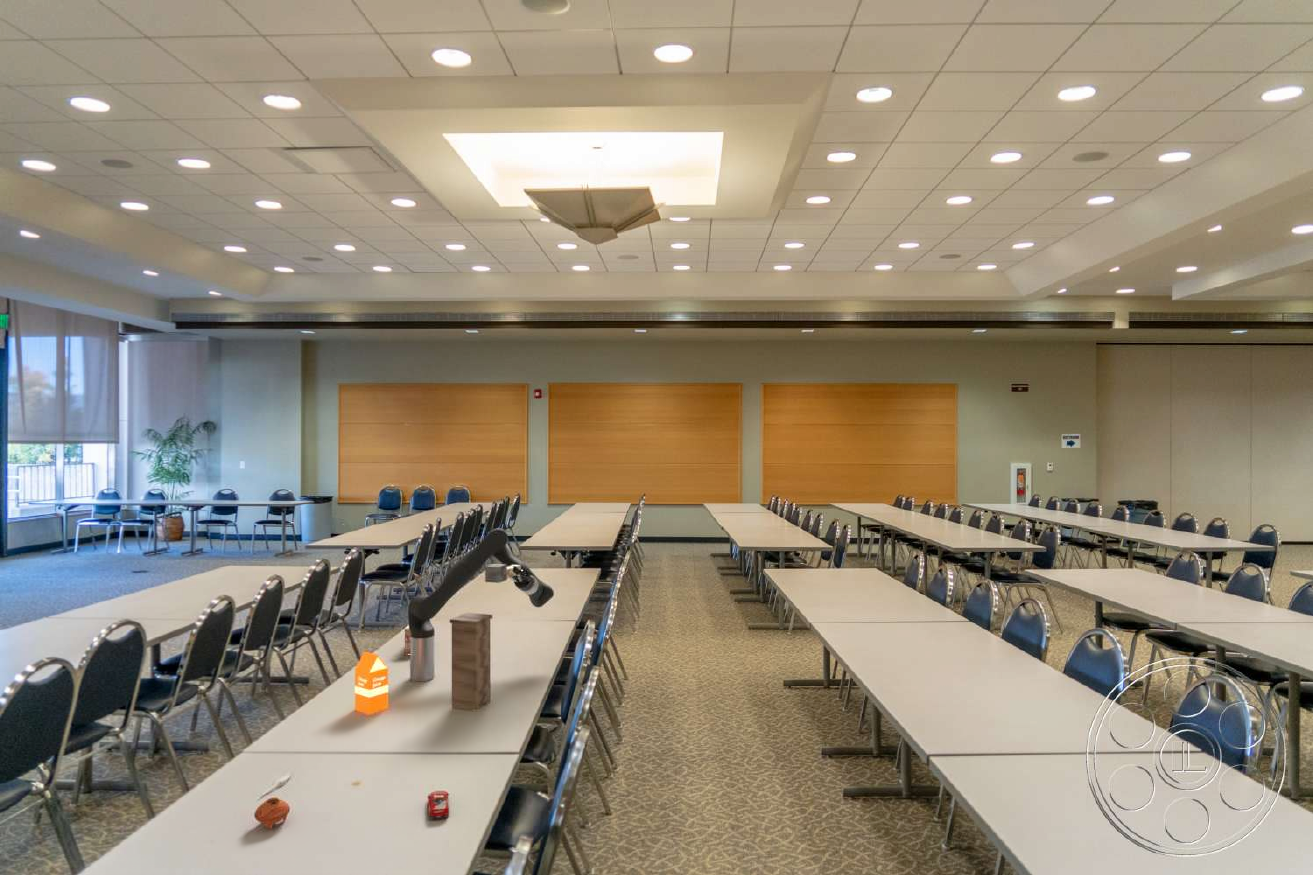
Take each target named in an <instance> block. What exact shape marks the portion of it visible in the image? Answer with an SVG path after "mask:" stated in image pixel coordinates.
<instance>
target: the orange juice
mask: <svg viewBox="0 0 1313 875" xmlns="http://www.w3.org/2000/svg"><path fill="white" fill-rule="evenodd" d="M387 708H388V709H389V667H387V665H386V664H385V663H384V661H383V660H382V658H381V657H380V655H379V654H375V653H372V652H367V651H363V653H362V655H361V657H360V659H359V661H358V663H357V664H356V666H355V669H354V710H355V711H358V712H361V713H365V714H367V715H373V714H375V712H376V713H378V711H379V712H382V711H385V710H387ZM381 710H382V711H381Z"/></svg>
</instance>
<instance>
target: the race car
mask: <svg viewBox="0 0 1313 875" xmlns="http://www.w3.org/2000/svg"><path fill="white" fill-rule="evenodd" d="M449 796H450V793H448V792H447V791H446V790H435V791H433V792H430V793H429V794H428V795H427V799H428V800H427V801H428V802H427V805H428V806H427V808H428V811H427V812H428V819H429V820H438V819H439V820H440V819H445V818H448V817H449V816H450V803H449Z"/></svg>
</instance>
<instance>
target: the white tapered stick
mask: <svg viewBox="0 0 1313 875" xmlns="http://www.w3.org/2000/svg"><path fill="white" fill-rule="evenodd" d="M293 774H294V773H293V771H289V773H288V774H285V775H283V776H282V777H279V778H277V779H275V781H273V783H272V784H271V786H269V787H268V788H267V789H266V790H265V791H264V792H263V793H262V794H261V795H260V796H259V797H258V798H257V799H256V801H259V800H261V799H262V798H264V797H265V796H267V795H269V794H271V793H273V792H274V791H276V790H277V789H279V788H280V787H283V786H284V785H286V784H287V783H288V782H289V781H290V779H292V777H291V776H293Z"/></svg>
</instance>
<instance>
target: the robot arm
mask: <svg viewBox="0 0 1313 875" xmlns="http://www.w3.org/2000/svg"><path fill="white" fill-rule="evenodd" d="M508 540H509V538H508V533H507V531H506V530H504V529H503V528H493V529H491V530H490V531H489V532H488V533H487V534H486V536H484V538H483V539H482V540H481V541H480V542H479V543H478V544H477V546H475V547H474V548H473V549H472V550H470V551H469V552H468V553H466V554H465V555H464V556H462V558H460V559H459V560H458V561H456V562H455V563H454V564H453V565H452V566H451V567H450V568H449V569H448V570H447V572H446V574H445V576H444V577H443V579H442V582H441V584H440V585H439V586H438V587H437V588H436V589H435V590H434V591H433V592H432V593H430V594H429V595H428V596H427V595H422V594H419V595H414V596H413V597H412V598H411V599H410V600H409V604H408V608H407V616H408V617H407V618H408V625H409V630H410V632H411V655H410V658H409V664H410V665H409V679H410V682H412V681H414V682H425V681H427V682H428V681H431V680H433V679H434V678H435V677H436V676H435V674H436V671H435V669H436V668H435V664H436V663H435V661H436V660H435V649H436V648H435V638H436V637H435V633H436V632H435V628H434V626H433V625H432V623H431V619H433V618H434V617H436V616H437V614H438V613H439V612H440V611H441V610H442V609H443V607H445V605H446V604H447V603H448V601H450V599H451V598H452V597H453V596H454V595H456V594H457V593H458V592H459V591H460V590H461V589H462V588H463V587H464V586H465V585H466V584H467V583H469V581H470V580H472V579H473V577H474V576H476V575H477V573H478V572H479V571H480V570H481V568H482V567H483V566H484V565H485V563H486V562H487V561H488V560H489V558H491V557H494V558H495V559H497V561H499V562H500V563H501V564H505V565H507V567H508V566H511V565H521V569H518V568H517V567H516V566H513V572H514V573H515V574H517V575H516V576H513V577H510V578H509V579H510V580H511V581H513V583H514V586H515V587H516V588H517V589H519V590H520V591H521V592H522V593H524V594H526V595H527V596H528V597H529V601H530V603H531V605H532V606H534V607H535V608H542V607H543V606H544V605H545V604H546V603H548V602H549V601H550V600H551V599H552V598H553V597H554V594H555V592H554V589H553V588H552V587H551V586H550V585H548V584H547V583H545V582H543V580H541V579H540V578H538V577H537V576H536V575H535V574H534V572H533V571H532V570H531V569H530V567H529V566H528V565H526V564H525V563H524V562H523V561H521V560H519V559H518V558H517V557H515V555H514V554H512V553H511V551H510V550H509V549H508V547H507V546H506V545H507V544H508Z"/></svg>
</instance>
